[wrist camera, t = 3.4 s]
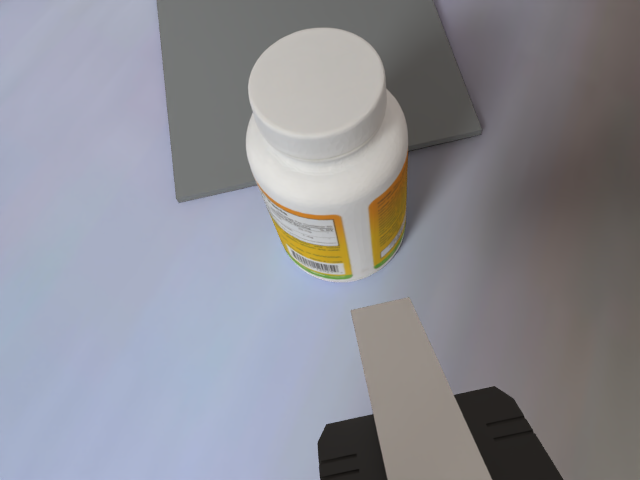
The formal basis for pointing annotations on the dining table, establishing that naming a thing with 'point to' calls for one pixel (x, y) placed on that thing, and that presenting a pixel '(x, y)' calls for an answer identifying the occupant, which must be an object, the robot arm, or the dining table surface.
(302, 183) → the supplement bottle
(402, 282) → the dining table surface
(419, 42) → the mat
